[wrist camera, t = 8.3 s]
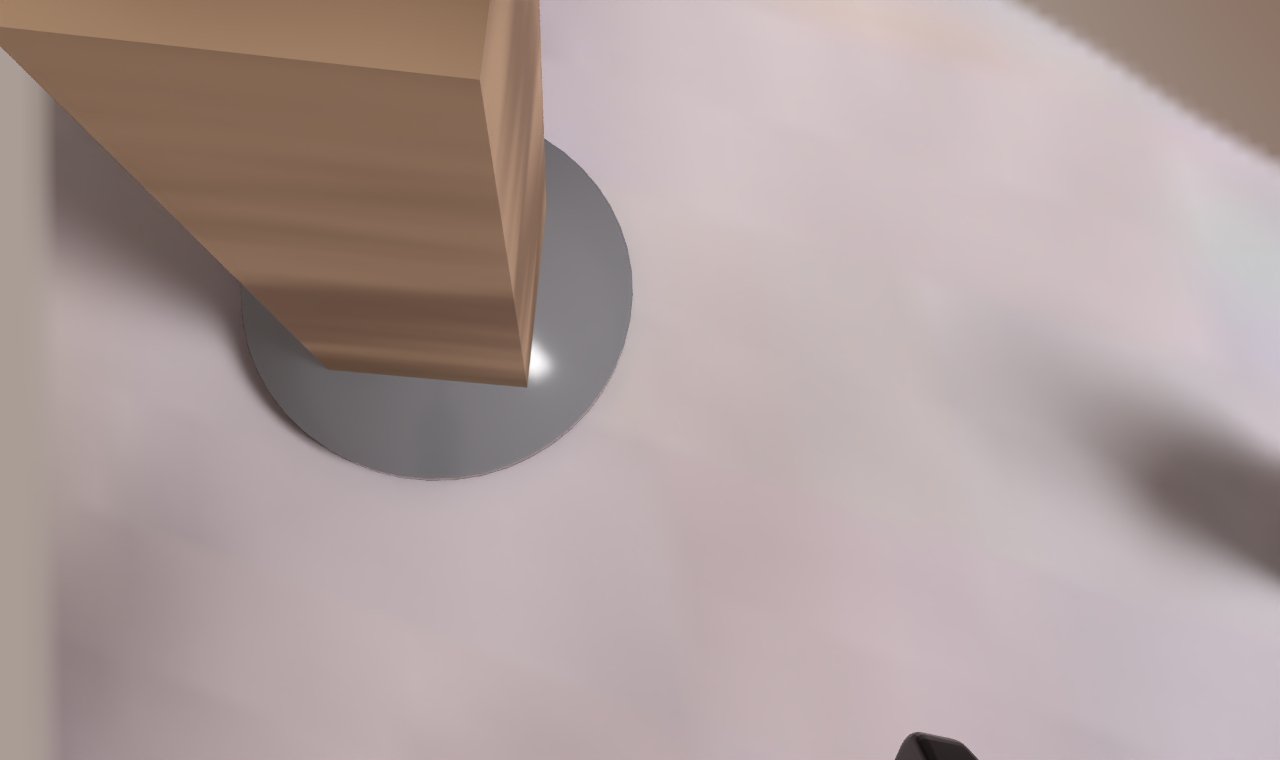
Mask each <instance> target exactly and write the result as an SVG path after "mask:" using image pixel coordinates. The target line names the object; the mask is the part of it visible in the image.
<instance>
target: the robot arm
mask: <svg viewBox="0 0 1280 760" xmlns="http://www.w3.org/2000/svg"><path fill="white" fill-rule="evenodd" d="M895 760H978V759H977V757H976V756H975V755H974V754H973V753H972V752H971V751H970V750H969V749H968V748H967V747H966V746H965V745H964V744H963V743H961V742H959V741H957V740H954V739H951V738H946V737H941V736H936V735H932V734H927V733H922V732H915V733H912V734H910V735H909V736H908V737H907V738H906V739H905V740H904V742H903V743H902V745H901V747H900V749H899V752H898V754H897V756H896V758H895Z"/></svg>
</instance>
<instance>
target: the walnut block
mask: <svg viewBox="0 0 1280 760" xmlns="http://www.w3.org/2000/svg"><path fill="white" fill-rule="evenodd" d="M0 46H1V47H2V48H3V49H4V50H5V51H6V52H7V53H8V54H9V55H10V56H11V57H12V58H13V59H14V60H15V61H16V62H17V63H18V64H19V65H20V66H21V67H22V68H23V69H24V70H25V71H26V72H27V73H28V74H29V75H30V76H31V77H32V78H33V79H34V80H35V81H36V82H37V83H38V84H39V85H40V86H41V87H42V88H43V89H44V90H45V91H46V92H47V93H48V94H49V95H50V96H51V97H52V98H53V99H54V100H55V101H56V102H57V103H58V104H59V105H60V106H61V107H63V108H64V109H65V110H66V111H67V112H68V113H69V114H70V115H71V116H72V117H73V118H74V119H75V120H76V121H77V122H78V123H79V124H80V125H81V126H82V127H83V128H84V129H85V130H86V131H87V132H88V133H89V134H90V135H91V136H92V137H93V138H94V139H95V140H96V141H97V142H98V143H99V144H100V145H101V146H102V147H103V148H104V149H105V150H106V151H107V152H108V153H109V154H110V155H111V156H112V157H113V158H114V159H115V160H116V161H117V162H118V163H119V164H120V165H121V166H122V167H123V168H124V169H125V170H126V171H127V172H128V173H129V174H130V175H131V176H132V177H133V178H134V179H135V180H136V181H137V182H138V183H139V184H140V185H142V186H143V187H144V188H145V189H146V190H147V191H148V192H149V193H150V194H151V195H152V196H153V197H154V198H155V199H156V200H157V201H158V202H159V203H160V204H161V205H162V206H163V207H164V208H165V209H166V210H167V211H168V212H169V213H170V214H171V215H172V216H173V217H174V218H175V219H176V220H177V221H178V222H179V223H180V224H181V225H182V226H183V227H184V228H185V229H186V230H187V231H188V232H189V233H190V234H191V235H192V236H193V237H194V238H195V239H196V240H197V241H198V242H199V243H200V244H201V245H202V246H203V247H204V248H205V249H206V250H207V251H208V252H209V253H210V254H211V255H212V256H213V257H214V258H215V259H216V260H217V261H218V262H220V263H221V264H222V265H223V266H224V267H225V268H226V269H227V270H228V271H229V272H230V273H231V274H232V275H233V276H234V277H235V278H236V279H237V280H238V281H239V282H240V283H241V284H242V285H243V286H244V287H245V288H246V289H247V290H248V291H249V292H250V293H251V294H252V295H253V296H254V297H255V298H256V299H257V300H258V301H259V302H260V303H261V304H262V305H263V306H264V307H265V308H266V309H267V310H268V311H269V312H270V313H271V314H272V315H273V316H274V317H275V318H276V319H277V320H278V321H279V322H280V323H281V324H282V325H283V326H284V327H285V328H286V329H287V330H288V331H289V332H290V333H291V334H292V335H293V336H294V337H295V338H296V339H297V340H299V341H300V342H301V343H302V344H303V345H304V346H305V347H306V348H307V349H308V350H309V351H310V352H311V353H312V354H313V355H314V356H315V357H316V358H317V359H318V360H319V361H320V362H321V363H322V364H323V365H324V366H325V367H326V368H327V369H328V370H335V371H346V372H358V373H369V374H380V375H391V376H402V377H413V378H425V379H436V380H447V381H458V382H469V383H480V384H492V385H503V386H514V387H525V388H527V387H528V377H529V368H530V358H531V349H532V339H533V330H534V320H535V310H536V301H537V291H538V282H539V272H540V262H541V253H542V243H543V234H544V224H545V214H546V182H545V153H544V125H543V96H542V67H541V39H540V10H539V0H0Z"/></svg>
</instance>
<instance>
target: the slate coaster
mask: <svg viewBox="0 0 1280 760" xmlns="http://www.w3.org/2000/svg"><path fill="white" fill-rule="evenodd" d="M544 153H545V182H546V214H545V224H544V234H543V243H542V253H541V262H540V272H539V282H538V291H537V301H536V310H535V320H534V330H533V339H532V349H531V358H530V368H529V377H528V387H527V388H525V387H514V386H503V385H492V384H480V383H469V382H458V381H447V380H436V379H425V378H413V377H402V376H391V375H380V374H369V373H358V372H346V371H335V370H328V369H327V368H326V367H325V366H324V365H323V364H322V363H321V362H320V361H319V360H318V359H317V358H316V357H315V356H314V355H313V354H312V353H311V352H310V351H309V350H308V349H307V348H306V347H305V346H304V345H303V344H302V343H301V342H300V341H299V340H297V339H296V338H295V337H294V336H293V335H292V334H291V333H290V332H289V331H288V330H287V329H286V328H285V327H284V326H283V325H282V324H281V323H280V322H279V321H278V320H277V319H276V318H275V317H274V316H273V315H272V314H271V313H270V312H269V311H268V310H267V309H266V308H265V307H264V306H263V305H262V304H261V303H260V302H259V301H258V300H257V299H256V298H255V297H254V296H253V295H252V294H251V293H250V292H249V291H248V290H247V289H246V288H245V287H244V286H243V285H242V291H241V306H242V318H243V326H244V331H245V335H246V339H247V344H248V348H249V351H250V353H251V356H252V358H253V361H254V364H255V366H256V369H257V371H258V373H259V375H260V377H261V378H262V380H263V382H264V384H265V385H266V387H267V389H268V391H269V393H270V394H271V395H272V397H273V398H274V399H275V401H276V402H277V403H278V404H279V406H280V407H281V408H282V410H283V411H284V412H285V413H286V414H287V415H288V416H289V417H290V418H291V419H292V420H293V421H294V422H295V423H296V424H297V425H298V426H299V427H300V428H301V429H302V430H303V431H304V432H305V433H307V434H308V435H309V436H311V437H312V438H314V439H315V440H316V441H318V442H319V443H320V444H322V445H323V446H325V447H326V448H328V449H329V450H331V451H332V452H334V453H336V454H338V455H340V456H342V457H343V458H345V459H347V460H349V461H351V462H353V463H355V464H357V465H360V466H363V467H365V468H368V469H371V470H373V471H376V472H379V473H383V474H387V475H392V476H396V477H400V478H406V479H416V480H427V481H439V480H459V479H465V478H471V477H477V476H482V475H486V474H489V473H493V472H496V471H499V470H503V469H506V468H508V467H511V466H513V465H515V464H518V463H520V462H522V461H524V460H527V459H529V458H531V457H532V456H534V455H536V454H537V453H539V452H541V451H542V450H544V449H546V448H547V447H549V446H551V445H552V444H553V443H555V442H556V441H557V440H558V439H560V438H561V437H562V436H563V435H565V434H566V433H567V432H568V431H570V430H571V429H572V428H573V427H574V426H575V425H576V424H577V423H578V422H579V421H580V420H581V419H582V418H583V417H584V416H585V415H586V413H587V412H588V411H589V410H590V409H591V407H592V406H593V405H594V403H595V402H596V401H597V399H598V398H599V397H600V395H601V394H602V392H603V391H604V389H605V387H606V385H607V384H608V382H609V380H610V378H611V376H612V375H613V373H614V371H615V368H616V366H617V363H618V361H619V358H620V355H621V353H622V350H623V347H624V343H625V339H626V335H627V331H628V326H629V322H630V317H631V306H632V296H633V292H632V271H631V265H630V260H629V254H628V249H627V245H626V242H625V239H624V236H623V233H622V230H621V227H620V225H619V223H618V221H617V219H616V216H615V214H614V212H613V210H612V208H611V206H610V204H609V203H608V201H607V200H606V198H605V197H604V195H603V194H602V192H601V191H600V189H599V188H598V186H597V185H596V184H595V183H594V181H593V180H592V179H591V178H590V177H589V176H588V175H587V173H586V172H585V171H584V170H583V169H582V168H581V167H580V166H579V165H578V164H577V163H576V162H575V161H573V160H572V159H571V158H570V157H569V156H568V155H567V154H566V153H564V152H563V151H562V150H560V149H559V148H557V147H556V146H554V145H553V144H551V143H550V142H548V141H547V140H546V139H544Z"/></svg>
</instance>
